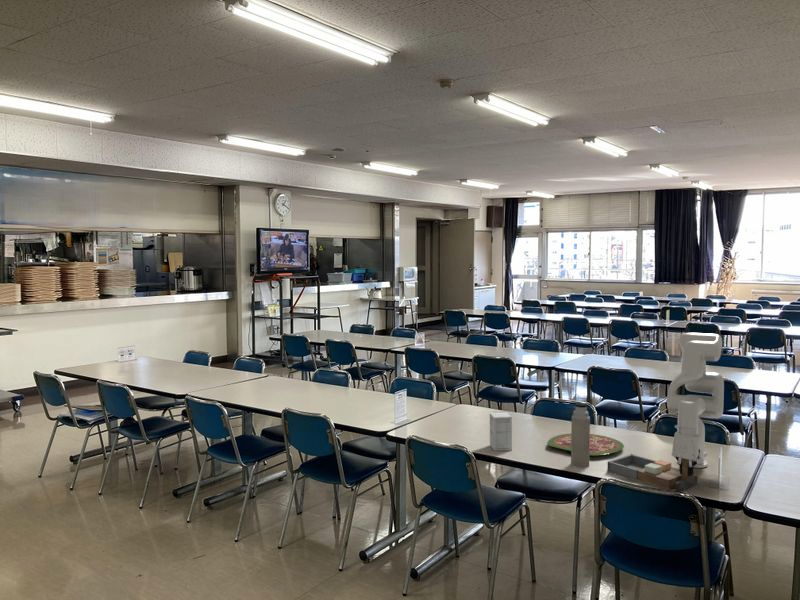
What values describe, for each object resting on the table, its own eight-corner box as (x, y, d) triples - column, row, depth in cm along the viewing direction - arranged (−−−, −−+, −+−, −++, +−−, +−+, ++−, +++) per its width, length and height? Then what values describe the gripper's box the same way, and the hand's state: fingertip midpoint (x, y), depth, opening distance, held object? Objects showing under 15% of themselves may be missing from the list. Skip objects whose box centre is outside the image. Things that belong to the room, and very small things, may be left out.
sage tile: (651, 468, 267) (651, 463, 267) (662, 471, 263) (662, 466, 263) (644, 471, 264) (644, 465, 264) (655, 474, 260) (655, 468, 260)
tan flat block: (658, 472, 274) (658, 463, 274) (689, 481, 263) (689, 472, 263) (637, 480, 265) (637, 470, 265) (668, 489, 254) (668, 480, 253)
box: (631, 463, 286) (631, 454, 286) (659, 471, 275) (659, 461, 275) (607, 471, 275) (607, 461, 275) (636, 480, 264) (636, 470, 264)
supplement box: (507, 445, 316) (508, 412, 315) (512, 450, 306) (512, 416, 305) (489, 445, 315) (489, 412, 314) (493, 451, 306) (493, 417, 305)
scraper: (692, 481, 262) (692, 449, 260) (697, 483, 260) (698, 450, 258) (674, 489, 253) (674, 455, 252) (679, 491, 251) (680, 457, 250)
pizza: (537, 447, 312) (537, 443, 311) (572, 433, 336) (572, 429, 336) (602, 463, 287) (602, 458, 287) (636, 447, 312) (636, 442, 312)
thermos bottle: (589, 462, 287) (590, 402, 286) (589, 468, 280) (590, 406, 278) (571, 461, 290) (571, 401, 288) (570, 467, 282) (571, 405, 280)
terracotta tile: (660, 465, 271) (660, 459, 271) (671, 468, 267) (671, 462, 267) (653, 467, 268) (653, 462, 268) (664, 470, 264) (664, 465, 264)
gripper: (664, 427, 259) (663, 471, 260) (702, 436, 246) (701, 482, 247) (673, 424, 263) (672, 467, 265) (712, 433, 250) (710, 478, 252)
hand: (686, 474), depth 256 cm, fingers closed on scraper, 2 cm apart
